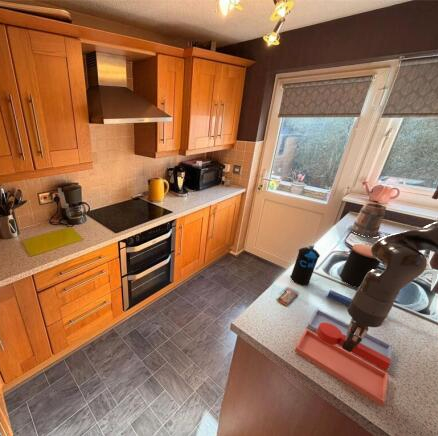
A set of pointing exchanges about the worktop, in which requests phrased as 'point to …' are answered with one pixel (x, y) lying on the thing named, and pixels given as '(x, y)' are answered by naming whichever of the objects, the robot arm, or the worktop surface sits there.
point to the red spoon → (335, 336)
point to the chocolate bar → (287, 297)
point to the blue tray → (343, 327)
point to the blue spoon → (339, 298)
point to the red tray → (344, 366)
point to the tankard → (369, 220)
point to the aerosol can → (305, 265)
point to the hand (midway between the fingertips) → (347, 346)
